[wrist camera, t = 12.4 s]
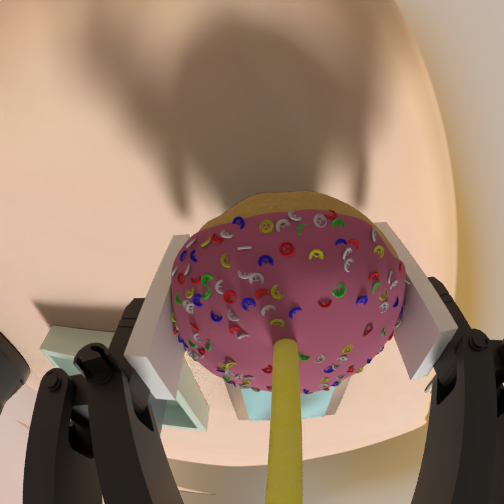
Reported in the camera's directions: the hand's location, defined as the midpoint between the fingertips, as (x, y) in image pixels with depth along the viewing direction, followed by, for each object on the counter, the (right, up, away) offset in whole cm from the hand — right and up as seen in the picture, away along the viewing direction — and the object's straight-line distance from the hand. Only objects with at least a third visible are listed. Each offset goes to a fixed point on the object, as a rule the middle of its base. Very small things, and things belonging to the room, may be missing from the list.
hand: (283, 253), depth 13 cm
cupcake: (0, +1, +1) cm, 1 cm away
